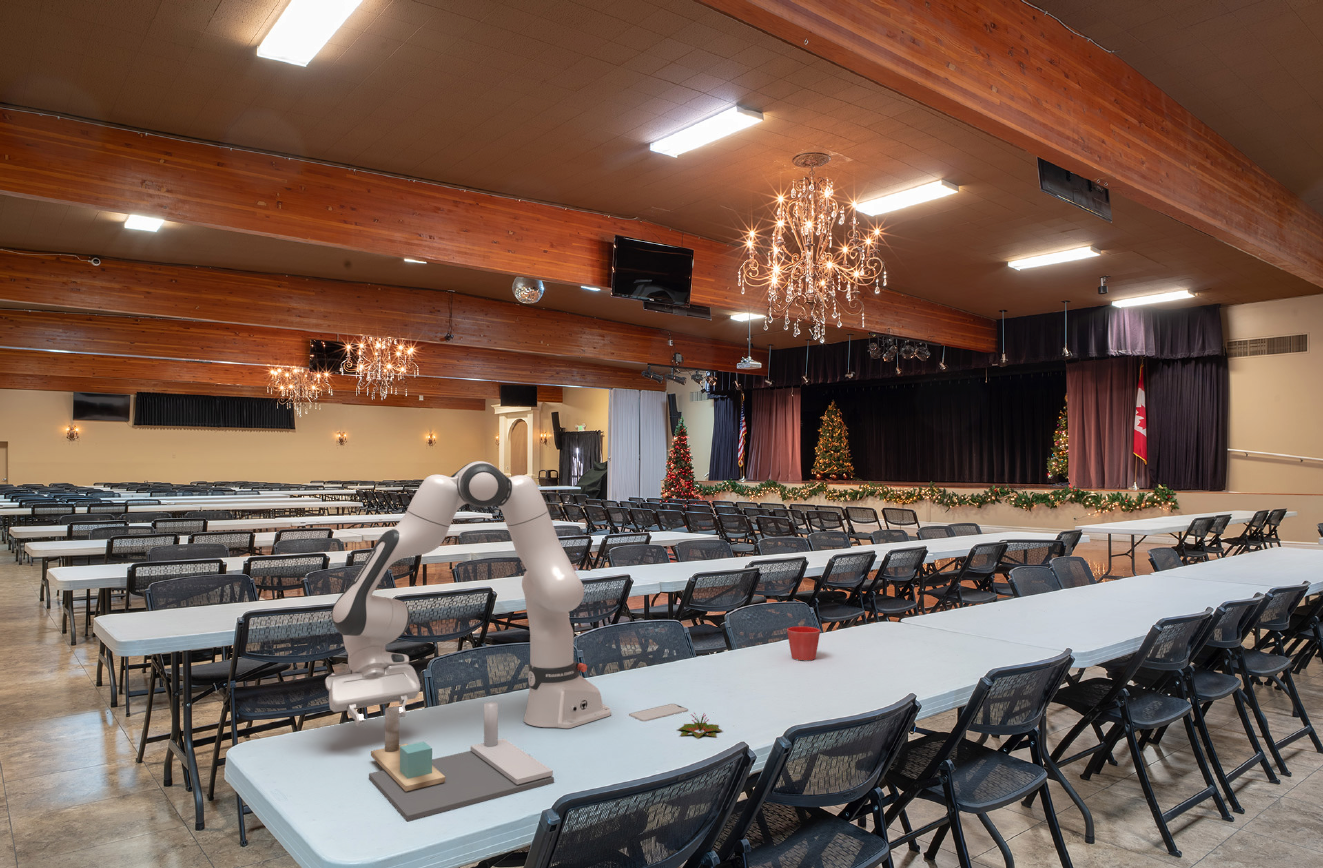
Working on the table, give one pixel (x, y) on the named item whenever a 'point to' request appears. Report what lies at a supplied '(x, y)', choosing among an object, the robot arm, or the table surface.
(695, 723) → the lily flower
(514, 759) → the pale board with post
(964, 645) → the table surface
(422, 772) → the teal block
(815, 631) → the flower pot
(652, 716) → the smartphone
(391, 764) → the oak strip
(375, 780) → the lane mat
